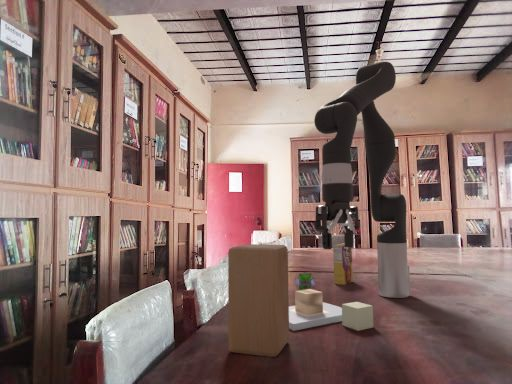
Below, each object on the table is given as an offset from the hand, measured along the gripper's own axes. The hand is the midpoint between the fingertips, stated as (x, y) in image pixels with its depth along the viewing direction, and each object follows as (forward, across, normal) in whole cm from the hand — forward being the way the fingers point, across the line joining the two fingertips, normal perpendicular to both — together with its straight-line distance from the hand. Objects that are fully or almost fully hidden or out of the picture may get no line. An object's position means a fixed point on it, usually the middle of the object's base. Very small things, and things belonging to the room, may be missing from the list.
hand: (338, 248), depth 89 cm
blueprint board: (+18, -2, +8) cm, 20 cm away
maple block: (+16, -2, +8) cm, 19 cm away
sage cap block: (+18, +1, -4) cm, 19 cm away
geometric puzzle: (+18, +22, +32) cm, 43 cm away
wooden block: (+18, -26, 0) cm, 32 cm away
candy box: (+18, +46, +33) cm, 59 cm away
